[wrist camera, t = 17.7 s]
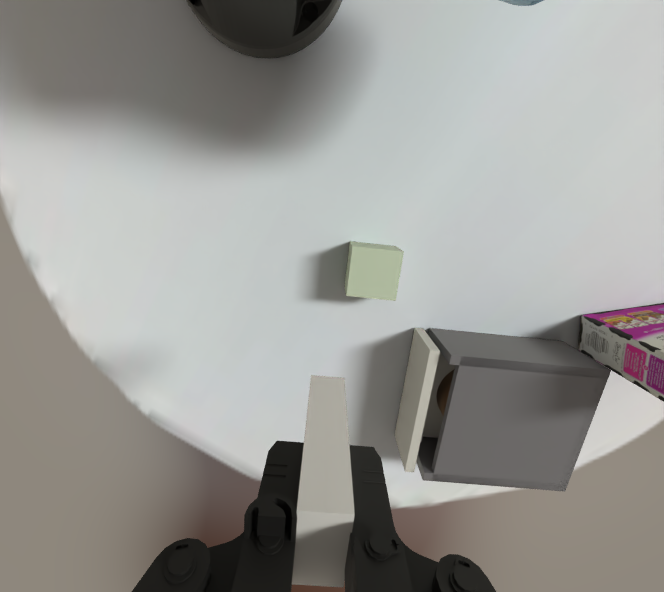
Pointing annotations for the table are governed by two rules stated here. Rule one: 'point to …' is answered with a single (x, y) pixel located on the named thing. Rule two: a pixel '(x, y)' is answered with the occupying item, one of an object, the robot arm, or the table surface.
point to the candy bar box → (628, 344)
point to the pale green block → (373, 271)
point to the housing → (512, 411)
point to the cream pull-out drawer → (420, 398)
